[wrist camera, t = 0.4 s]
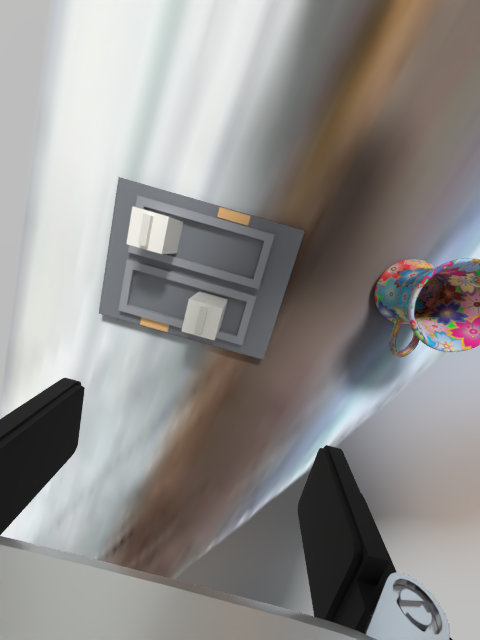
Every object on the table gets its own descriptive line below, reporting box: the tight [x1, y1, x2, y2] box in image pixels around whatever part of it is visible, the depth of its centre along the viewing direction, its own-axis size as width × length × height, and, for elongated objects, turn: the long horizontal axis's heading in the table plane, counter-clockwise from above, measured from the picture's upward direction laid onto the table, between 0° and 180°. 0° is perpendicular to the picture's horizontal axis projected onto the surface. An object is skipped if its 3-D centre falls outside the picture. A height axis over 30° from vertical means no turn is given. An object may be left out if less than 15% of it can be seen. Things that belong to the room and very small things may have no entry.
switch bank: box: [99, 177, 305, 360], centre depth 37 cm, size 18×24×2 cm
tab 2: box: [182, 291, 228, 340], centre depth 35 cm, size 4×4×7 cm
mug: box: [375, 258, 480, 357], centre depth 32 cm, size 12×9×11 cm
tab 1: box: [126, 206, 183, 254], centre depth 32 cm, size 4×4×7 cm
